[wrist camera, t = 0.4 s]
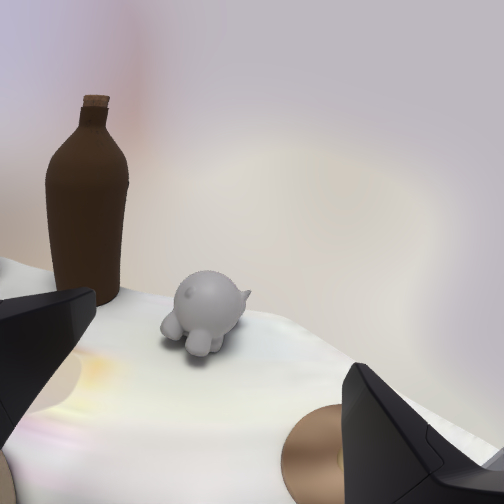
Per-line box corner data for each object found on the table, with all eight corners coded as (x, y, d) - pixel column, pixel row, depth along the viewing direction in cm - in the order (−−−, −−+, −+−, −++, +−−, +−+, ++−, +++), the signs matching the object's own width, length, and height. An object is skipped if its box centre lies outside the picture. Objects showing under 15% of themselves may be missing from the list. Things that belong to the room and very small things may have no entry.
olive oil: (84, 322, 29) (87, 90, 19) (40, 286, 32) (39, 96, 22) (139, 288, 38) (159, 100, 29) (92, 262, 41) (103, 99, 31)
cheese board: (418, 514, 14) (448, 496, 12) (277, 537, 13) (296, 529, 11) (389, 414, 27) (408, 391, 25) (274, 411, 26) (287, 386, 24)
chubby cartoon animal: (249, 348, 36) (277, 290, 36) (195, 367, 26) (231, 289, 25) (208, 321, 39) (232, 266, 39) (147, 328, 29) (175, 255, 28)
